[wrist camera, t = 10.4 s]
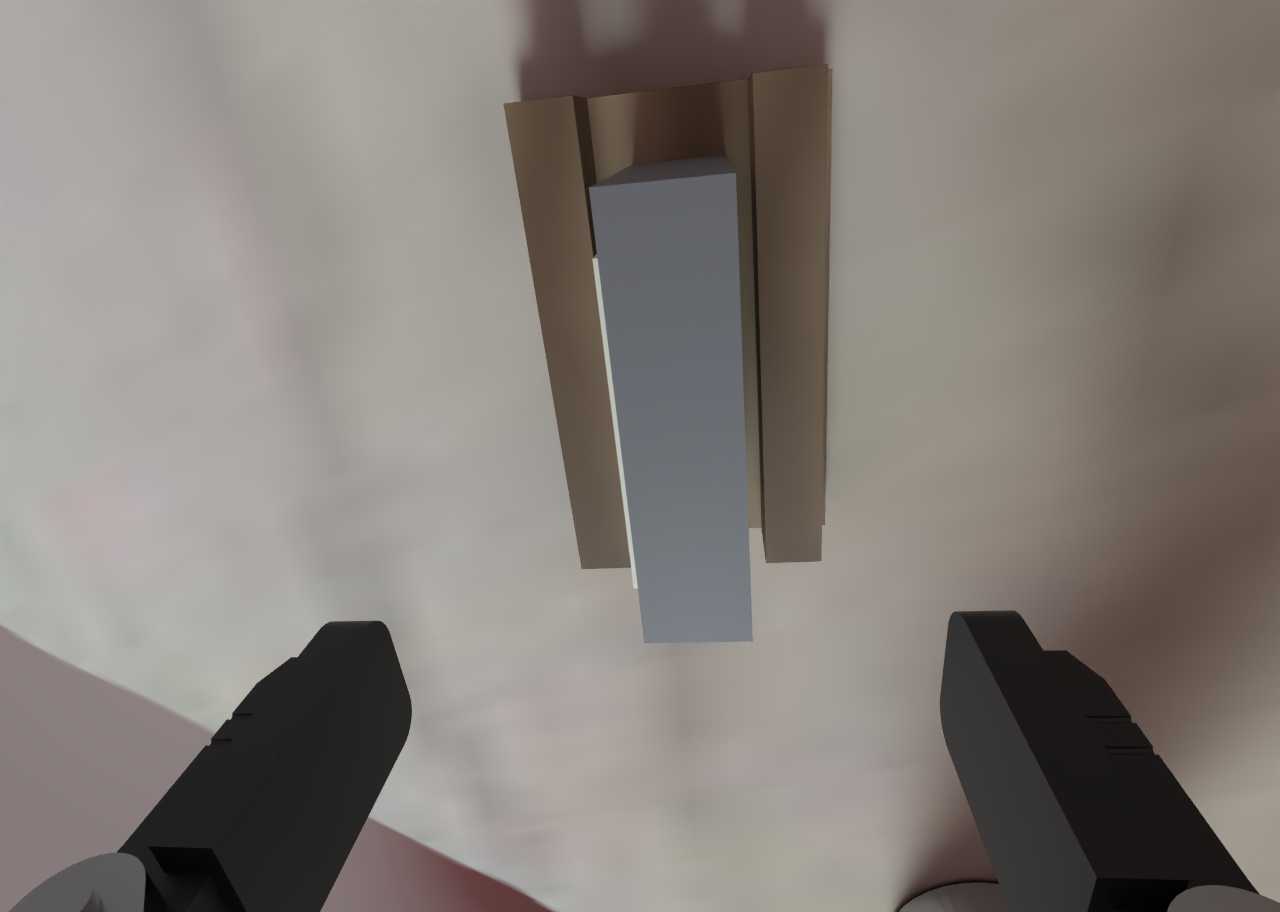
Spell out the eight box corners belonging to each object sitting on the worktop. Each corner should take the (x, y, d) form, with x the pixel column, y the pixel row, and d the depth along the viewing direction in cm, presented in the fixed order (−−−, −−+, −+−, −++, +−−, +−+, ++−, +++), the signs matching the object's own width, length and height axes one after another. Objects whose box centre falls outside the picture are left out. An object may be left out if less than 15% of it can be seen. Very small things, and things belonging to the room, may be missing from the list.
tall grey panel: (725, 154, 22) (735, 172, 14) (739, 485, 27) (752, 641, 19) (626, 165, 22) (579, 188, 14) (658, 489, 27) (637, 642, 19)
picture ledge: (824, 71, 22) (847, 61, 18) (819, 506, 29) (835, 560, 25) (521, 108, 23) (486, 105, 19) (585, 515, 30) (568, 569, 26)
